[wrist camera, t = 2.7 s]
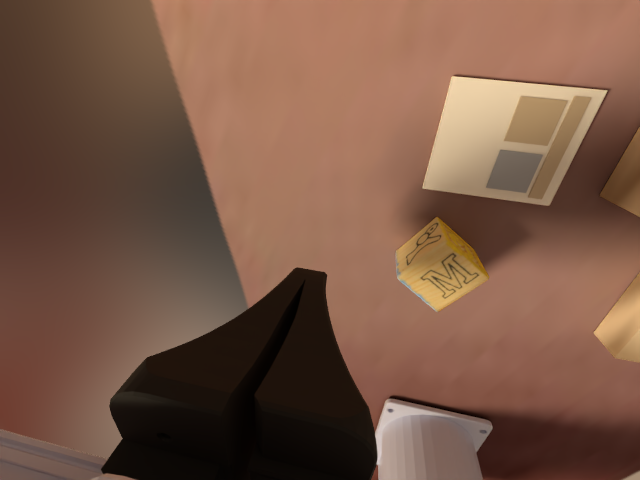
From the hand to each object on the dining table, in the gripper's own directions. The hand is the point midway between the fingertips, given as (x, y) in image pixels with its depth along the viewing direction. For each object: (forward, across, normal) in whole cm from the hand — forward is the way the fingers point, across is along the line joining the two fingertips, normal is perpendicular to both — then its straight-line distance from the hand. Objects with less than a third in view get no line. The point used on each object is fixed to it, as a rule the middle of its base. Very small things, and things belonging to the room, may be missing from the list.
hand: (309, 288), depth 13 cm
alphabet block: (+6, -6, 0) cm, 8 cm away
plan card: (+5, -8, -6) cm, 11 cm away
